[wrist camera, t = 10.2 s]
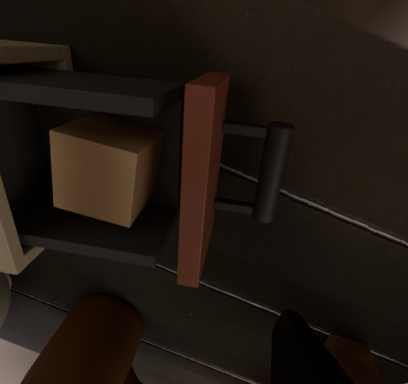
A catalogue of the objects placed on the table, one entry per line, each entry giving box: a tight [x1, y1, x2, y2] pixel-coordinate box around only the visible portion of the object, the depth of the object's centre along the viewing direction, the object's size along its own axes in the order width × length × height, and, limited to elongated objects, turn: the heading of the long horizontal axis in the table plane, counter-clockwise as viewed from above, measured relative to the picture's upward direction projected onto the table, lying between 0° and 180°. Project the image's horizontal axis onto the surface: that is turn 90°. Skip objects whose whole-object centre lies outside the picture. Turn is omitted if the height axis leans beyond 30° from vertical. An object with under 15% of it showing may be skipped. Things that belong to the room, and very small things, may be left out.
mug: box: [21, 294, 143, 384], centre depth 25 cm, size 12×8×9 cm, turn 55°
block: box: [49, 112, 164, 228], centre depth 16 cm, size 4×4×4 cm
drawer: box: [0, 66, 294, 288], centre depth 16 cm, size 16×10×6 cm, turn 86°
